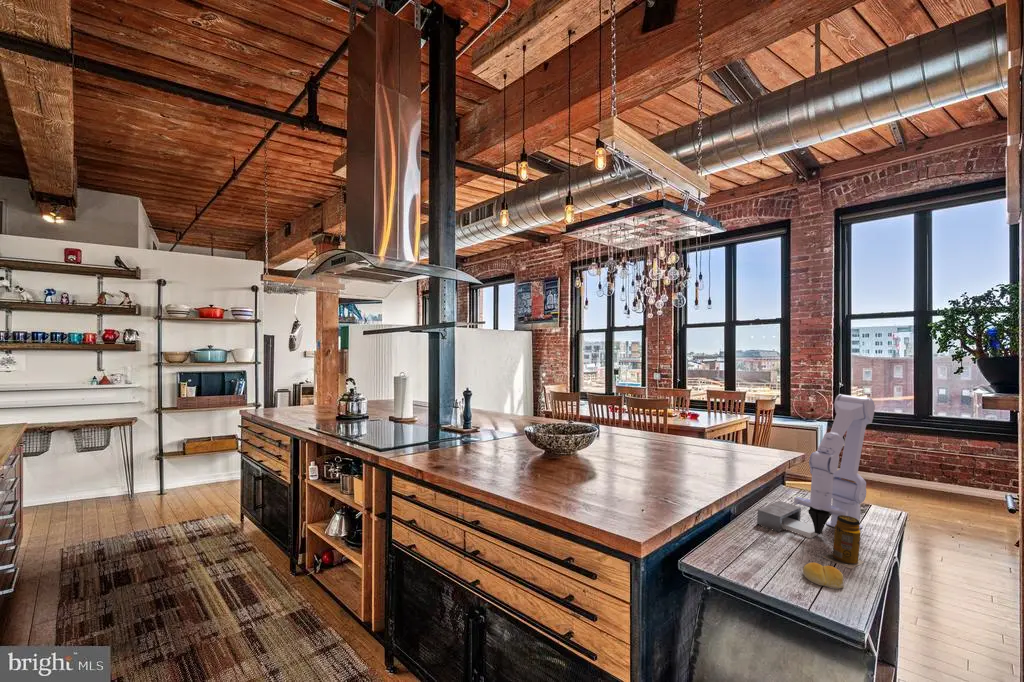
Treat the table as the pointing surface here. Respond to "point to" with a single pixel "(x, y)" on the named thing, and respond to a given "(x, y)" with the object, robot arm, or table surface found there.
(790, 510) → the grey c-shaped bracket
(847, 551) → the condiment
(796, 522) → the tile
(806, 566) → the bread roll
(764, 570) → the table surface
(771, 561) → the table surface
